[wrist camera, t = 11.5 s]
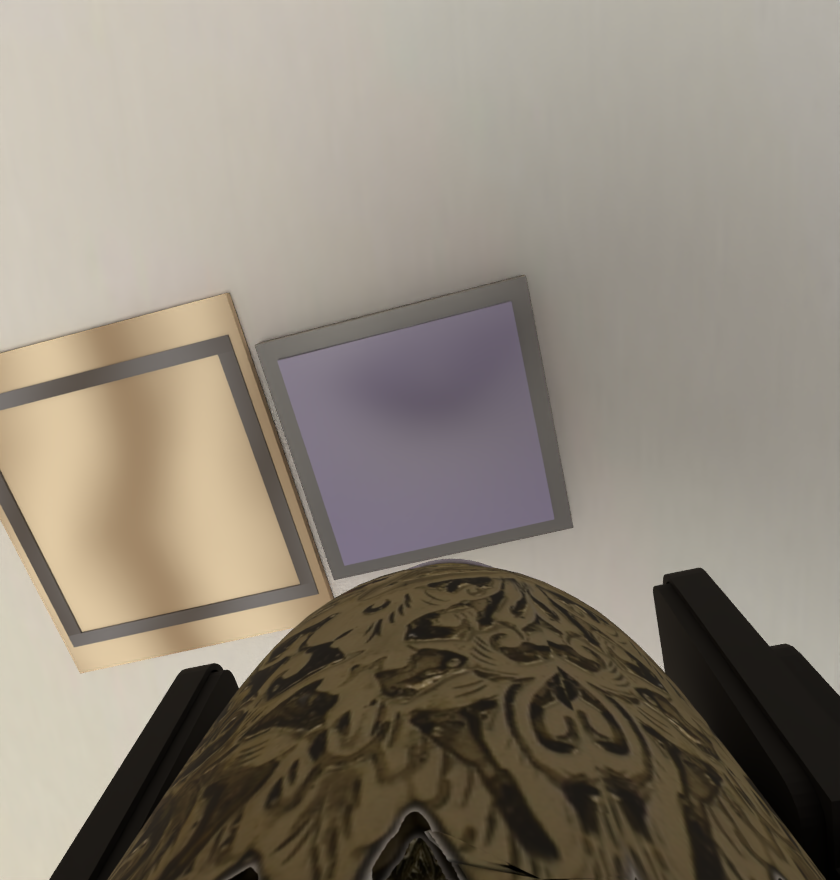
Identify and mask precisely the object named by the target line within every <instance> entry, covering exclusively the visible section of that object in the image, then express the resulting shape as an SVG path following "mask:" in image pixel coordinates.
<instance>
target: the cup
mask: <svg viewBox="0 0 840 880" xmlns="http://www.w3.org/2000/svg"><path fill="white" fill-rule="evenodd" d="M108 880H826V879H825V877H824V876H823V875H822V873H821V872H820V871H819V869H818V868H817V867H816V865H815V864H814V863H813V861H812V860H811V859H810V857H809V856H808V855H807V854H806V852H805V851H804V850H803V848H802V847H801V846H800V844H799V843H798V842H797V840H796V839H795V838H794V836H793V835H792V834H791V832H790V831H789V830H788V828H787V827H786V826H785V824H784V823H783V822H782V820H781V819H780V818H779V816H778V815H777V814H776V813H775V811H774V810H773V809H772V807H771V806H770V805H769V803H768V802H767V801H766V799H765V798H764V797H763V795H762V794H761V793H760V792H759V790H758V789H757V788H756V786H755V785H754V784H753V782H752V781H751V780H750V778H749V777H748V776H747V775H746V773H745V772H744V771H743V769H742V768H741V767H740V765H739V764H738V763H737V762H736V760H735V759H734V758H733V756H732V755H731V754H730V752H729V751H728V750H727V749H726V747H725V746H724V745H723V743H722V742H721V741H720V739H719V738H718V737H717V736H716V734H715V733H714V732H713V730H712V729H711V728H710V726H709V725H708V724H707V723H706V721H705V720H704V719H703V717H702V716H701V715H700V714H699V713H698V711H697V710H696V709H695V708H694V706H693V705H692V704H691V703H690V701H689V700H688V699H687V698H686V697H685V695H684V694H683V693H682V692H681V690H680V689H679V688H678V687H677V686H676V685H675V683H674V682H673V681H672V680H671V679H670V678H669V677H668V676H667V675H666V674H665V672H664V671H663V670H662V669H661V668H660V667H659V666H658V665H657V664H656V663H655V661H654V660H653V659H652V658H651V657H650V656H649V655H648V654H647V653H646V652H645V651H644V650H643V649H642V648H641V647H640V646H639V645H638V644H637V643H635V642H634V641H633V640H632V639H631V638H630V637H629V636H628V635H626V634H625V633H624V632H623V631H622V630H621V629H620V628H619V627H617V626H616V625H615V624H614V623H612V622H611V621H610V620H609V619H607V618H606V617H605V616H603V615H602V614H601V613H600V612H598V611H597V610H595V609H594V608H592V607H590V606H589V605H587V604H585V603H584V602H582V601H580V600H579V599H577V598H575V597H573V596H572V595H570V594H568V593H566V592H564V591H562V590H560V589H558V588H556V587H553V586H551V585H549V584H547V583H545V582H543V581H540V580H537V579H534V578H531V577H529V576H526V575H523V574H519V573H515V572H511V571H507V570H503V569H498V568H493V567H491V566H488V565H485V564H483V563H479V562H475V561H470V560H463V559H441V560H435V561H430V562H426V563H422V564H419V565H417V566H414V567H412V568H409V569H407V570H402V571H398V572H395V573H391V574H387V575H384V576H381V577H378V578H375V579H373V580H370V581H368V582H365V583H363V584H360V585H358V586H356V587H355V588H353V589H351V590H349V591H347V592H345V593H343V594H341V595H339V596H338V597H336V598H334V599H333V600H331V601H329V602H327V603H326V604H325V605H323V606H322V607H320V608H319V609H317V610H316V611H314V612H313V613H311V614H310V615H309V616H307V617H306V618H305V619H304V620H303V621H302V622H301V623H299V624H298V625H297V626H296V627H295V628H294V629H293V630H291V631H290V632H289V633H288V634H287V635H286V636H285V637H284V638H283V639H282V640H281V641H280V642H279V643H278V644H277V645H276V646H275V647H274V648H273V649H272V650H271V651H270V653H269V654H268V655H267V656H266V657H265V658H264V659H263V660H262V662H261V663H260V664H259V665H258V666H257V667H256V669H255V670H254V671H253V672H252V673H251V675H250V676H249V677H248V678H247V680H246V681H245V682H244V683H243V684H242V686H241V687H240V688H239V689H238V690H237V692H236V693H235V695H234V696H233V697H232V699H231V700H230V701H229V703H228V704H227V706H226V707H225V708H224V710H223V711H222V712H221V714H220V715H219V716H218V718H217V719H216V721H215V722H214V723H213V725H212V726H211V728H210V729H209V731H208V732H207V734H206V735H205V736H204V738H203V739H202V741H201V742H200V744H199V745H198V747H197V748H196V750H195V751H194V752H193V754H192V755H191V757H190V758H189V760H188V761H187V763H186V764H185V766H184V767H183V769H182V770H181V772H180V773H179V774H178V776H177V777H176V779H175V780H174V782H173V783H172V785H171V786H170V788H169V789H168V791H167V792H166V794H165V795H164V797H163V798H162V799H161V801H160V802H159V804H158V805H157V807H156V808H155V810H154V811H153V813H152V814H151V816H150V817H149V819H148V820H147V822H146V823H145V825H144V826H143V828H142V829H141V831H140V832H139V834H138V835H137V837H136V838H135V840H134V841H133V842H132V844H131V845H130V847H129V848H128V850H127V851H126V853H125V854H124V856H123V857H122V859H121V860H120V862H119V863H118V865H117V866H116V868H115V869H114V871H113V872H112V874H111V875H110V877H109V878H108Z"/></svg>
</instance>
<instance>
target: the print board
mask: <svg viewBox="0 0 840 880" xmlns="http://www.w3.org/2000/svg"><path fill="white" fill-rule="evenodd" d="M0 520H1V522H2V524H3V526H4V528H5V530H6V531H7V533H8V535H9V537H10V539H11V541H12V543H13V545H14V547H15V549H16V551H17V553H18V555H19V557H20V558H21V560H22V562H23V564H24V566H25V568H26V570H27V572H28V574H29V576H30V578H31V580H32V582H33V583H34V585H35V587H36V589H37V591H38V593H39V595H40V597H41V599H42V601H43V603H44V605H45V607H46V608H47V610H48V612H49V614H50V616H51V618H52V620H53V622H54V624H55V626H56V628H57V630H58V632H59V633H60V635H61V637H62V639H63V641H64V643H65V645H66V647H67V649H68V651H69V653H70V655H71V657H72V659H73V660H74V662H75V664H76V666H77V668H78V670H79V672H80V673H85V672H89V671H94V670H99V669H103V668H108V667H113V666H117V665H122V664H127V663H131V662H136V661H141V660H145V659H150V658H155V657H160V656H164V655H169V654H174V653H178V652H183V651H188V650H192V649H197V648H202V647H206V646H211V645H216V644H220V643H225V642H230V641H234V640H239V639H244V638H248V637H253V636H258V635H262V634H267V633H272V632H276V631H281V630H286V629H290V628H295V627H296V626H297V625H298V624H299V623H301V622H302V621H303V620H304V619H305V618H306V617H307V616H309V615H310V614H311V613H313V612H314V611H316V610H317V609H319V608H320V607H322V606H323V605H325V604H326V603H327V602H329V601H331V600H333V599H334V598H333V595H332V592H331V589H330V586H329V583H328V580H327V577H326V574H325V572H324V569H323V566H322V563H321V560H320V557H319V554H318V551H317V548H316V545H315V542H314V539H313V536H312V534H311V531H310V528H309V525H308V522H307V519H306V516H305V513H304V510H303V507H302V504H301V501H300V498H299V495H298V493H297V490H296V487H295V484H294V481H293V478H292V475H291V472H290V469H289V466H288V463H287V460H286V457H285V455H284V452H283V449H282V446H281V443H280V440H279V437H278V434H277V431H276V428H275V425H274V422H273V419H272V417H271V414H270V411H269V408H268V405H267V402H266V399H265V396H264V393H263V390H262V387H261V384H260V381H259V378H258V376H257V373H256V370H255V367H254V364H253V361H252V358H251V355H250V352H249V349H248V346H247V343H246V340H245V338H244V335H243V332H242V329H241V326H240V323H239V320H238V317H237V314H236V311H235V308H234V305H233V302H232V299H231V297H230V294H229V293H225V294H221V295H218V296H214V297H210V298H206V299H203V300H199V301H195V302H191V303H188V304H184V305H180V306H176V307H173V308H169V309H165V310H161V311H158V312H154V313H150V314H146V315H143V316H139V317H135V318H131V319H128V320H124V321H120V322H116V323H112V324H109V325H105V326H101V327H97V328H94V329H90V330H86V331H82V332H79V333H75V334H71V335H67V336H64V337H60V338H56V339H52V340H49V341H45V342H41V343H37V344H34V345H30V346H26V347H22V348H19V349H15V350H11V351H7V352H4V353H0Z"/></svg>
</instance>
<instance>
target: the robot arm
mask: <svg viewBox="0 0 840 880" xmlns="http://www.w3.org/2000/svg"><path fill="white" fill-rule="evenodd" d="M653 595H654V602H655V609H656V615H657V622H658V628H659V635H660V642H661V648H662V655H663V662H664V668H665V674H666V675H667V676H668V677H669V678H670V679H671V680H672V681H673V682H674V683H675V685H676V686H677V687H678V688H679V689H680V690H681V692H682V693H683V694H684V695H685V697H686V698H687V699H688V700H689V701H690V703H691V704H692V705H693V706H694V708H695V709H696V710H697V711H698V713H699V714H700V715H701V716H702V717H703V719H704V720H705V721H706V723H707V724H708V725H709V726H710V728H711V729H712V730H713V732H714V733H715V734H716V736H717V737H718V738H719V739H720V741H721V742H722V743H723V745H724V746H725V747H726V749H727V750H728V751H729V752H730V754H731V755H732V756H733V758H734V759H735V760H736V762H737V763H738V764H739V765H740V767H741V768H742V769H743V771H744V772H745V773H746V775H747V776H748V777H749V778H750V780H751V781H752V782H753V784H754V785H755V786H756V788H757V789H758V790H759V792H760V793H761V794H762V795H763V797H764V798H765V799H766V801H767V802H768V803H769V805H770V806H771V807H772V809H773V810H774V811H775V813H776V814H777V815H778V816H779V818H780V819H781V820H782V822H783V823H784V824H785V826H786V827H787V828H788V830H789V831H790V832H791V834H792V835H793V836H794V838H795V839H796V840H797V842H798V843H799V844H800V846H801V847H802V848H803V850H804V851H805V852H806V854H807V855H808V856H809V857H810V859H811V860H812V861H813V863H814V864H815V865H816V867H817V868H818V869H819V871H820V872H821V873H822V875H823V876H824V877H825V879H826V880H840V696H839V695H838V694H837V693H836V692H835V691H834V689H833V688H832V687H831V686H830V685H829V684H828V683H827V682H826V681H825V680H824V678H823V677H822V676H821V675H820V674H819V673H818V672H817V671H816V670H815V669H814V668H813V666H812V665H811V664H810V663H809V662H808V661H807V660H806V659H805V658H804V657H803V656H802V654H801V653H799V652H798V651H797V650H796V649H795V648H794V647H793V646H791V645H788V644H780V645H775V646H769V645H768V644H767V643H766V642H765V641H764V639H763V638H762V637H761V636H760V635H759V634H758V632H757V631H756V630H755V629H754V628H753V627H752V625H751V624H750V623H749V622H748V621H747V620H746V618H745V617H744V616H743V615H742V614H741V612H740V611H739V610H738V609H737V608H736V607H735V605H734V604H733V603H732V602H731V601H730V600H729V598H728V597H727V596H726V595H725V594H724V593H723V591H722V590H721V589H720V588H719V587H718V585H717V584H716V583H715V582H714V581H713V580H712V578H711V577H710V576H709V575H708V574H707V573H706V571H704V570H703V569H702V568H695V569H690V570H685V571H680V572H675V573H670V574H665V575H664V577H663V585H658V586H654V587H653ZM238 689H239V688H238V685H237V683H236V680H235V678H234V676H233V674H232V673H231V672H230V671H229V670H223V668H222V667H221V666H220V665H219V664H216V663H213V664H208V665H203V666H198V667H193V668H188V669H184V670H182V671H181V672H180V673H179V674H178V675H177V677H176V679H175V680H174V682H173V683H172V685H171V687H170V688H169V690H168V691H167V693H166V695H165V696H164V698H163V699H162V701H161V703H160V704H159V706H158V707H157V709H156V711H155V712H154V714H153V715H152V717H151V718H150V720H149V722H148V723H147V725H146V726H145V728H144V730H143V731H142V733H141V734H140V736H139V738H138V739H137V741H136V742H135V744H134V746H133V747H132V749H131V750H130V752H129V754H128V755H127V757H126V758H125V760H124V761H123V763H122V765H121V766H120V768H119V769H118V771H117V773H116V774H115V776H114V777H113V779H112V781H111V782H110V784H109V785H108V787H107V789H106V790H105V792H104V793H103V795H102V797H101V798H100V800H99V801H98V803H97V804H96V806H95V808H94V809H93V811H92V812H91V814H90V816H89V817H88V819H87V820H86V822H85V824H84V825H83V827H82V828H81V830H80V832H79V833H78V835H77V836H76V838H75V840H74V841H73V843H72V844H71V846H70V847H69V849H68V851H67V852H66V854H65V855H64V857H63V859H62V860H61V862H60V863H59V865H58V867H57V868H56V870H55V871H54V873H53V875H52V876H51V878H50V879H49V880H108V878H109V877H110V875H111V874H112V872H113V871H114V869H115V868H116V866H117V865H118V863H119V862H120V860H121V859H122V857H123V856H124V854H125V853H126V851H127V850H128V848H129V847H130V845H131V844H132V842H133V841H134V840H135V838H136V837H137V835H138V834H139V832H140V831H141V829H142V828H143V826H144V825H145V823H146V822H147V820H148V819H149V817H150V816H151V814H152V813H153V811H154V810H155V808H156V807H157V805H158V804H159V802H160V801H161V799H162V798H163V797H164V795H165V794H166V792H167V791H168V789H169V788H170V786H171V785H172V783H173V782H174V780H175V779H176V777H177V776H178V774H179V773H180V772H181V770H182V769H183V767H184V766H185V764H186V763H187V761H188V760H189V758H190V757H191V755H192V754H193V752H194V751H195V750H196V748H197V747H198V745H199V744H200V742H201V741H202V739H203V738H204V736H205V735H206V734H207V732H208V731H209V729H210V728H211V726H212V725H213V723H214V722H215V721H216V719H217V718H218V716H219V715H220V714H221V712H222V711H223V710H224V708H225V707H226V706H227V704H228V703H229V701H230V700H231V699H232V697H233V696H234V695H235V693H236V692H237V690H238Z"/></svg>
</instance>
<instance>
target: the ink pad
mask: <svg viewBox="0 0 840 880" xmlns="http://www.w3.org/2000/svg"><path fill="white" fill-rule="evenodd" d="M255 348H256V351H257V354H258V357H259V360H260V363H261V365H262V368H263V371H264V374H265V377H266V380H267V383H268V386H269V389H270V392H271V395H272V398H273V401H274V404H275V407H276V410H277V413H278V416H279V419H280V422H281V425H282V428H283V431H284V434H285V436H286V439H287V442H288V445H289V448H290V451H291V454H292V457H293V460H294V463H295V466H296V469H297V472H298V475H299V478H300V481H301V484H302V487H303V490H304V493H305V496H306V499H307V502H308V505H309V508H310V510H311V513H312V516H313V519H314V522H315V525H316V528H317V531H318V534H319V537H320V540H321V543H322V546H323V549H324V552H325V555H326V558H327V561H328V564H329V567H330V570H331V573H332V576H333V579H334V580H337V579H342V578H346V577H351V576H355V575H360V574H364V573H369V572H374V571H378V570H383V569H387V568H392V567H396V566H401V565H405V564H410V563H415V562H419V561H424V560H428V559H433V558H437V557H442V556H446V555H451V554H456V553H460V552H465V551H469V550H474V549H478V548H483V547H487V546H492V545H497V544H501V543H506V542H510V541H515V540H519V539H524V538H528V537H533V536H538V535H542V534H547V533H551V532H556V531H560V530H565V529H569V528H573V523H572V518H571V513H570V507H569V502H568V497H567V491H566V486H565V481H564V475H563V470H562V465H561V459H560V454H559V449H558V443H557V438H556V433H555V427H554V422H553V417H552V412H551V406H550V401H549V396H548V390H547V385H546V380H545V374H544V369H543V364H542V358H541V353H540V348H539V342H538V337H537V332H536V326H535V321H534V316H533V311H532V305H531V300H530V295H529V289H528V284H527V279H526V276H525V275H521V276H517V277H513V278H509V279H506V280H502V281H498V282H494V283H490V284H486V285H482V286H478V287H474V288H471V289H467V290H463V291H459V292H455V293H451V294H447V295H443V296H440V297H436V298H432V299H428V300H424V301H420V302H416V303H412V304H408V305H405V306H401V307H397V308H393V309H389V310H385V311H381V312H377V313H373V314H370V315H366V316H362V317H358V318H354V319H350V320H346V321H342V322H339V323H335V324H331V325H327V326H323V327H319V328H315V329H311V330H307V331H304V332H300V333H296V334H292V335H288V336H284V337H280V338H276V339H272V340H269V341H265V342H261V343H259V344H257V345H255Z"/></svg>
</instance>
